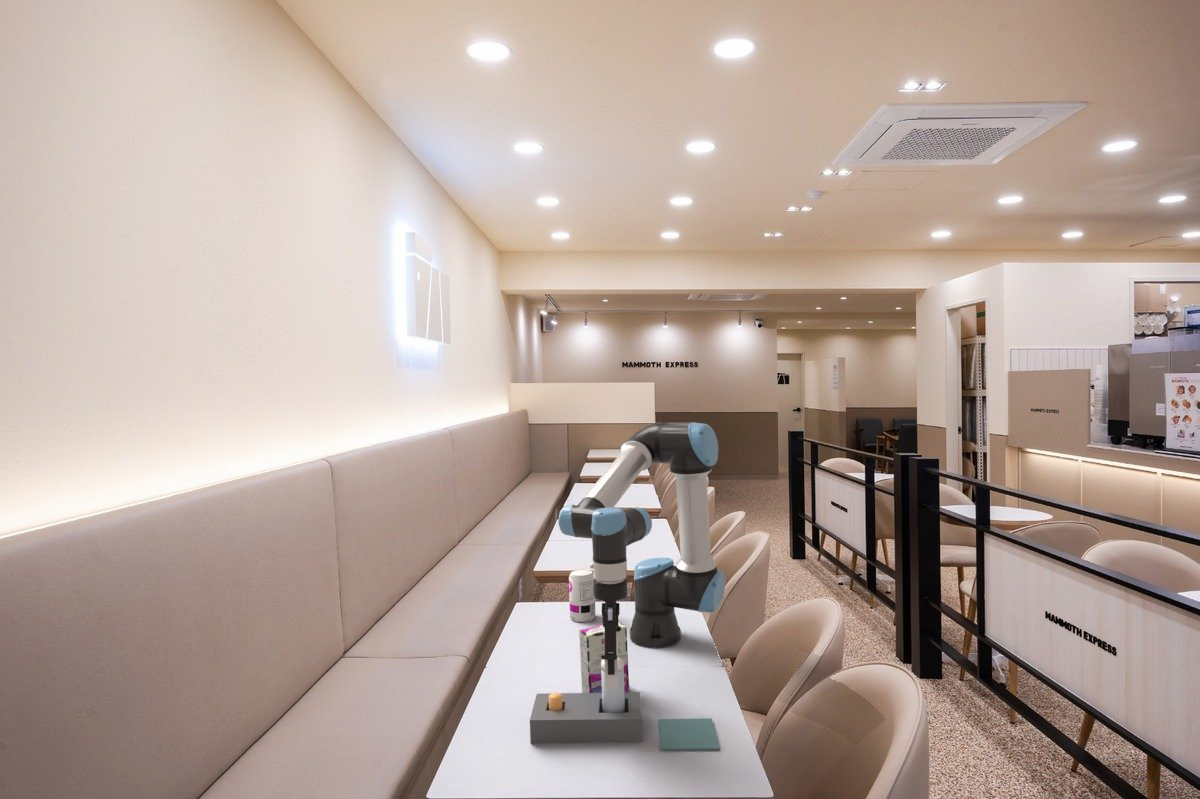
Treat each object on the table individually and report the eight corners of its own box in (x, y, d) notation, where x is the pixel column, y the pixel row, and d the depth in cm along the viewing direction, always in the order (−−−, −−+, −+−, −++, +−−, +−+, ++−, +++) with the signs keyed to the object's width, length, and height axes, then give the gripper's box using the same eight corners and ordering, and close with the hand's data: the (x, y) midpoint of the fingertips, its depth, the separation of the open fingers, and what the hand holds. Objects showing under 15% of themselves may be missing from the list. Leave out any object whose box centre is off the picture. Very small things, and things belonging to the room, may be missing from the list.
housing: (640, 713, 156) (640, 692, 156) (642, 741, 144) (641, 718, 144) (537, 714, 157) (536, 693, 156) (530, 743, 145) (529, 720, 145)
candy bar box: (619, 683, 171) (618, 620, 171) (629, 691, 167) (628, 626, 166) (580, 694, 166) (578, 628, 165) (589, 702, 162) (587, 635, 161)
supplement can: (567, 622, 214) (566, 576, 214) (573, 613, 222) (571, 568, 222) (592, 623, 213) (591, 576, 212) (597, 614, 221) (595, 568, 220)
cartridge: (614, 719, 154) (612, 654, 153) (630, 727, 150) (628, 661, 149) (598, 727, 150) (596, 661, 150) (613, 736, 147) (612, 668, 146)
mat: (658, 721, 152) (658, 718, 152) (711, 720, 152) (711, 718, 152) (661, 750, 140) (661, 748, 140) (719, 750, 140) (719, 748, 140)
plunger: (563, 718, 152) (562, 692, 152) (562, 725, 149) (561, 699, 149) (550, 718, 152) (549, 692, 152) (548, 725, 149) (547, 699, 149)
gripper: (595, 563, 161) (597, 651, 162) (590, 597, 136) (592, 700, 137) (626, 563, 161) (628, 650, 162) (627, 597, 136) (629, 700, 137)
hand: (612, 673), depth 149 cm, fingers open, 13 cm apart
